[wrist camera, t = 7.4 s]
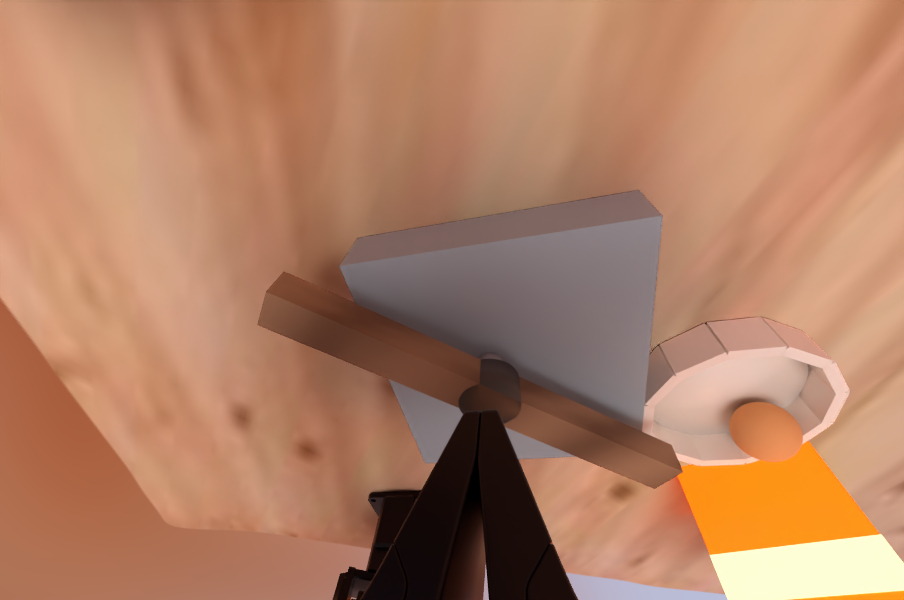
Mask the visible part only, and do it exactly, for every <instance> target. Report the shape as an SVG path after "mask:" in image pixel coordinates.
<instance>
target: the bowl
mask: <svg viewBox="0 0 904 600" xmlns="http://www.w3.org/2000/svg"><path fill="white" fill-rule="evenodd" d="M659 345H660V346H657V347H656V348H655V349H654V350H653V351H652V353H651V354H650V355H649V364H648V374H647V385H646V395H645V405H644V416H643V426H642V432H644V433H646V434H648V435H651V436H653V437H655V438H657V439H660V440H662V441H664V442H666V443H669V444H671V445H672V447H673V449H674V452H675V454H676V456H677V459H678V460H679V461H682V462H686V463H689V464H693V465H696V466H699V465H700V466H718V465H745V462H746V464H749V463H752V462H756V461H759V459H756V458H753V457H751V456H750V455H748V454H746V453H745V452H744V451H742V450H741V449H740V448H739V447H738V446H737V445H736V443H735V442H734V440H733V438H732V436H731V434H730V430H729V422H730V418H731V416H732V414H733V413H734V411H735V410H736V409H738V408H739V407H740V406H742V405H745V404H747V403H751V402H766V403H770V404H774V405H776V406H779V407H781V408H783V409H784V410H786V411H787V412H788V413H790V414H791V415H792V416H793V417H794V418H795V419H796V421H797V422H798V424H799V426H800V428H801V430H802V434H803V442H802V444H804V443H805V442H807V441H808V440H810V439H811V438H813V437H814V436H816V435H817V434H819V433H820V432H822V431H823V430H825V429H826V428H828V427H829V426H831V425H832V424H831V423H834V421H835V419H836V418H837V416H838V414H839V412H840V410H841V408H842V406H843V404H844V402H845V400H846V399H847V397H848V395H849V393H850V392H849V391H850V390H849V388H848V386H847V384H846V382H845V380H844V378H843V376H842V374H841V372H840V370H839V368H838V366H837V364H836V362H835V361H834V360H833V359H832V358H830V357H829V356H828V355H827V354H826V353H825V352H824V351H823V350H822V349H821V348H820V347H819V346H818V345H817V344H816V343H815V342H814V341H813V340H812V339H811V338H810V337H809V336H808V335H807V334H806V333H804V332H803V331H802V330H799V329H796V328H793V327H790V326H787V325H784V324H781V323H778V322H775V321H772V320H769V319H766V318H763V317H761V318H760V317H753V318H744V319H734V320H724V321H715V322H707V325H706V324H705V323H703V324H701V325H699V326H697V327H695V328H693V329H691V330H689V331H687V332H684V333H682V334H680V335H678V336H676V337H674V338H672V339H670V340H668V341H665V342H663V343H661V344H659Z"/></svg>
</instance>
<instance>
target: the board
mask: <svg viewBox="0 0 904 600" xmlns="http://www.w3.org/2000/svg"><path fill="white" fill-rule="evenodd" d="M662 217H663V215H662V214H661V213H660V212H659V211H658V210H657V209H656V208H655V207H654V206H653V205H652V204H651V203H650V201H649V200H648V199H647V198H646V197H645V196H644V195H643V194H642V193H641V192H640V191H639V190H637V191H631V192H625V193H619V194H613V195H607V196H601V197H596V198H590V199H584V200H578V201H572V202H566V203H560V204H554V205H548V206H543V207H537V208H531V209H525V210H519V211H513V212H507V213H501V214H495V215H490V216H484V217H478V218H472V219H466V220H460V221H454V222H448V223H442V224H437V225H431V226H425V227H419V228H413V229H407V230H401V231H395V232H389V233H384V234H378V235H372V236H366V237H360V238H357V240H356V241H355V243H354V244H353V246H352V247H351V249H350V250H349V252H348V253H347V255H346V256H345V258H344V259H343V261H342V262H341V264H340V265H339V267H340V270H341V272H342V274H343V276H344V279H345V281H346V283H347V286H348V288H349V290H350V293H351V295H352V297H353V299H354V302H355V303H356V304H358V305H360V306H362V307H365V308H367V309H369V310H371V311H373V312H376V313H378V314H380V315H382V316H385V317H387V318H389V319H391V320H394V321H396V322H398V323H400V324H403V325H405V326H407V327H409V328H411V329H414V330H416V331H418V332H420V333H423V334H425V335H427V336H429V337H432V338H434V339H436V340H438V341H441V342H443V343H445V344H447V345H449V346H452V347H454V348H456V349H458V350H461V351H463V352H465V353H467V354H470V355H472V356H474V357H476V358H479V359H498V360H502V361H504V362H507V363H509V364H510V365H512V366H513V367H514V368H515V369H516V370H517V372H518V374H519V377H521V378H523V379H526V380H528V381H530V382H532V383H534V384H537V385H539V386H541V387H543V388H546V389H548V390H550V391H552V392H555V393H557V394H559V395H561V396H564V397H566V398H568V399H570V400H572V401H575V402H577V403H579V404H581V405H584V406H586V407H588V408H590V409H593V410H595V411H597V412H599V413H602V414H604V415H606V416H608V417H610V418H613V419H615V420H617V421H619V422H622V423H624V424H626V425H628V426H631V427H633V428H635V429H637V430H640V431H642V426H643V416H644V405H645V395H646V385H647V374H648V364H649V353H650V343H651V332H652V322H653V311H654V301H655V291H656V280H657V270H658V259H659V249H660V238H661V228H662ZM389 382H390V384H391V386H392V389H393V391H394V393H395V395H396V398H397V400H398V402H399V405H400V407H401V409H402V411H403V414H404V416H405V418H406V421H407V423H408V425H409V427H410V430H411V432H412V434H413V437H414V439H415V441H416V443H417V446H418V448H419V450H420V453H421V455H422V457H423V459H424V462H425V463H437V461H438V459H439V457H440V456H441V454H442V452H443V450H444V448H445V446H446V445H447V443H448V441H449V439H450V437H451V435H452V434H453V432H454V430H455V428H456V426H457V424H458V423H459V421H460V419H461V417H462V415H463V414H462V412H461V411H460V409H459V408H457V407H455V406H453V405H450V404H448V403H445V402H443V401H441V400H438V399H436V398H433V397H431V396H428V395H426V394H424V393H421V392H419V391H416V390H414V389H411V388H409V387H407V386H404V385H402V384H399V383H397V382H394V381H392V380H390V379H389ZM505 428H506V427H505ZM506 431H507V433H508V436H509V438H510V440H511V443H512V445H513V448H514V450H515V453H516V455H517V457H518V459H534V458H557V457H576V456H574V455H571V454H569V453H567V452H564V451H562V450H559V449H557V448H554V447H552V446H550V445H547V444H545V443H542V442H540V441H537V440H535V439H533V438H530V437H528V436H525V435H523V434H520V433H518V432H516V431H513V430H511V429H508V428H506Z"/></svg>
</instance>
